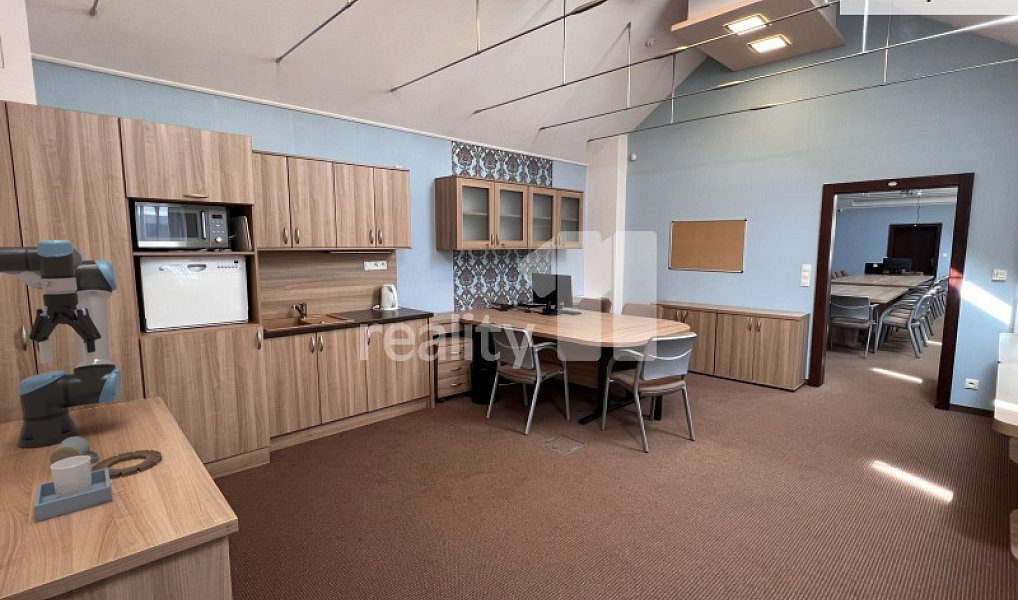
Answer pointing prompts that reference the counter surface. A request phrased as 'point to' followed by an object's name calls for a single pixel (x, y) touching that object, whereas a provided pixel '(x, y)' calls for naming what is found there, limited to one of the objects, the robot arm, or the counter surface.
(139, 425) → the counter surface
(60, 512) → the bin
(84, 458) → the white cup
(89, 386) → the robot arm
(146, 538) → the counter surface
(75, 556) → the counter surface
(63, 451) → the ceramic mug
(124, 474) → the holder ring
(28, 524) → the counter surface
